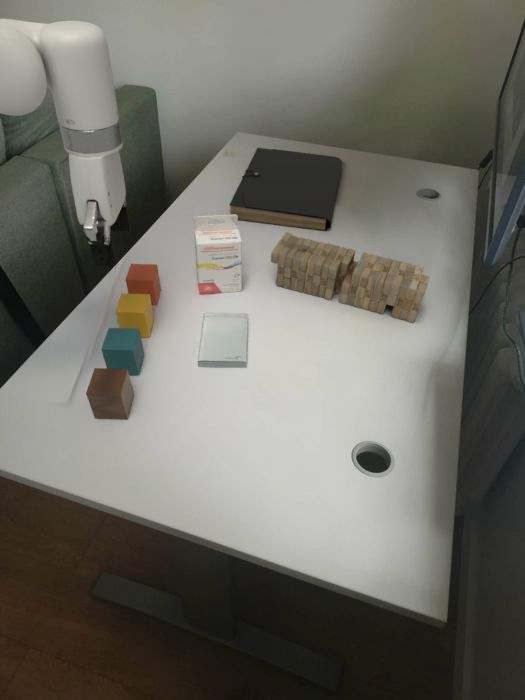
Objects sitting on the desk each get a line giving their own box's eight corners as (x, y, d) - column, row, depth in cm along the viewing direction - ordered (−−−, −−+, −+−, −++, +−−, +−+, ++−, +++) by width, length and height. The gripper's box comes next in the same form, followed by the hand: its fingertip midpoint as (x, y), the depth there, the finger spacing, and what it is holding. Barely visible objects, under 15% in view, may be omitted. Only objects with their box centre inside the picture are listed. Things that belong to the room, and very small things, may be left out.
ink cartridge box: (199, 296, 97) (193, 229, 86) (197, 280, 100) (191, 215, 90) (242, 292, 98) (242, 226, 87) (239, 277, 101) (238, 212, 91)
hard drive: (246, 361, 82) (248, 312, 91) (197, 360, 82) (203, 311, 91) (246, 368, 83) (248, 319, 92) (197, 367, 83) (204, 318, 92)
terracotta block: (130, 305, 94) (125, 279, 90) (135, 288, 98) (130, 263, 93) (156, 305, 94) (152, 280, 90) (161, 289, 98) (157, 264, 93)
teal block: (108, 374, 81) (101, 349, 77) (115, 353, 85) (108, 327, 81) (138, 375, 81) (133, 350, 77) (144, 354, 85) (139, 328, 81)
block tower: (419, 303, 98) (282, 263, 105) (432, 268, 92) (286, 228, 99) (412, 327, 93) (268, 283, 99) (425, 292, 87) (271, 248, 93)
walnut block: (94, 418, 75) (85, 393, 71) (102, 393, 79) (94, 367, 74) (127, 419, 75) (120, 394, 71) (134, 394, 79) (127, 368, 74)
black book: (256, 146, 137) (343, 156, 135) (256, 160, 140) (341, 171, 138) (228, 203, 114) (332, 217, 112) (228, 219, 117) (329, 233, 115)
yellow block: (149, 338, 88) (144, 312, 84) (121, 337, 88) (115, 311, 84) (154, 319, 91) (149, 293, 87) (127, 318, 91) (121, 293, 87)
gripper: (81, 110, 71) (102, 217, 83) (41, 161, 59) (73, 278, 71) (133, 112, 71) (147, 219, 83) (104, 164, 59) (125, 281, 71)
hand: (113, 246), depth 77 cm, fingers open, 9 cm apart
